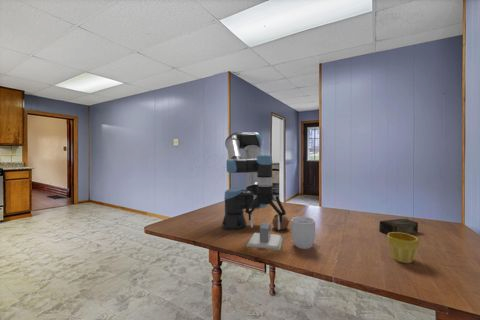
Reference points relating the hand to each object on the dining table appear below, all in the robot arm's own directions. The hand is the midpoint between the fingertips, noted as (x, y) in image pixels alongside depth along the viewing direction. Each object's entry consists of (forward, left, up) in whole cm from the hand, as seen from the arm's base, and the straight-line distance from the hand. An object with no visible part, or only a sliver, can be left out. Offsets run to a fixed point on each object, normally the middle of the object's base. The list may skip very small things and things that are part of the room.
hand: (265, 227), depth 110 cm
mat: (0, 0, -8) cm, 8 cm away
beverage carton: (+69, +31, -8) cm, 77 cm away
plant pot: (+58, -4, -8) cm, 58 cm away
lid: (0, 0, -7) cm, 7 cm away
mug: (+19, 0, -8) cm, 20 cm away
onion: (+6, +20, -8) cm, 23 cm away
